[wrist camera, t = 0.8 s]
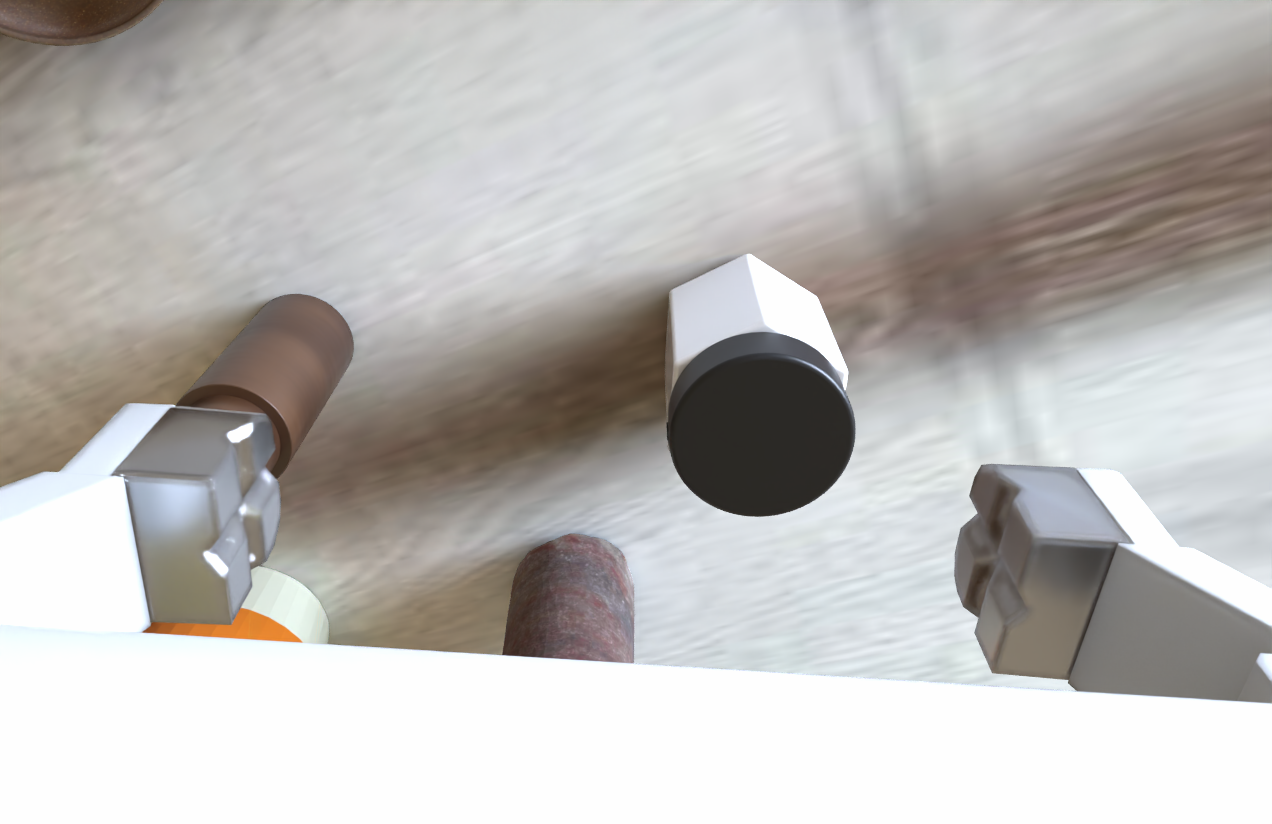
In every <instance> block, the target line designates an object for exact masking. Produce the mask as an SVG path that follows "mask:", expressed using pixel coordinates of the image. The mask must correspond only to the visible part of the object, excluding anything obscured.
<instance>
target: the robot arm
mask: <svg viewBox="0 0 1272 824" xmlns="http://www.w3.org/2000/svg"><path fill="white" fill-rule="evenodd" d="M274 451H275V441H274V434H273V427H272V423H271V421H270V419H269V418H268V416H267V415H266V414H264V413H252V412H241V411H230V410H218V409H207V408H195V407H184V406H178V407H177V406H175V405H167V404H144V403H131V404H125V405H124V406H123V407H122V408H121V409H120V410H119V411H118V412H117V413H116V414H115V415H114V416H113V417H112V418H111V419H110V420H109V421H108V422H107V423H106V424H105V425H104V426H103V427H102V428H101V429H100V430H99V431H98V432H97V433H96V434H95V435H94V436H93V438H92V439H91V440H90V441H89V442H88V443H87V444H86V445H85V446H84V447H83V448H82V449H81V450H80V451H79V452H78V453H77V454H76V455H75V456H74V457H73V458H72V459H71V460H70V461H69V462H68V463H67V464H66V465H65V466H64V467H63V468H62V469H61V470H60V471H59V472H41V473H38V474H36V475H33V476H30V477H27V478H25V479H22V480H19V481H17V482H14V483H11V484H8V485H6V486H3V487H0V824H1272V589H1270V588H1268V587H1266V586H1264V585H1262V584H1260V583H1259V582H1257V581H1255V580H1253V579H1251V578H1249V577H1247V576H1245V575H1243V574H1241V573H1239V572H1237V571H1236V570H1234V569H1232V568H1230V567H1228V566H1226V565H1224V564H1222V563H1220V562H1218V561H1216V560H1214V559H1213V558H1211V557H1209V556H1207V555H1205V554H1203V553H1201V552H1199V551H1197V550H1195V549H1193V548H1182V547H1179V546H1178V545H1177V544H1176V543H1175V541H1174V540H1173V539H1172V537H1171V536H1170V535H1169V534H1168V532H1167V531H1166V530H1165V529H1164V527H1163V526H1162V525H1161V524H1160V522H1159V521H1158V520H1157V519H1156V517H1155V516H1154V515H1153V513H1152V512H1151V511H1150V510H1149V508H1148V507H1147V506H1146V505H1145V503H1144V502H1143V501H1142V500H1141V498H1140V497H1139V496H1138V495H1137V493H1136V492H1135V491H1134V489H1133V488H1132V487H1131V486H1130V484H1129V483H1128V482H1127V481H1126V479H1125V478H1124V477H1123V476H1122V474H1121V473H1119V472H1116V471H1114V470H1112V469H1085V468H1070V467H1048V466H1025V465H1003V464H986V465H981V467H980V469H979V470H978V472H977V474H976V476H975V478H974V481H973V485H972V488H971V492H970V495H969V496H970V498H971V500H972V502H973V504H974V506H975V508H976V510H977V512H978V514H976V515H975V516H974V517H973V518H972V519H971V520H970V521H968V522H967V523H966V524H965V525H964V526H963V527H962V528H961V529H960V533H959V537H958V542H957V546H956V550H955V570H954V576H955V582H956V587H957V592H958V595H959V597H960V600H961V602H962V605H963V607H964V608H966V609H967V610H968V611H970V612H971V613H973V614H974V615H975V616H977V617H978V622H977V626H976V629H975V635H976V637H977V640H978V642H979V644H980V646H981V649H982V651H983V653H984V656H985V658H986V660H987V662H988V665H989V667H990V669H991V671H992V673H997V674H1008V675H1019V676H1030V677H1042V678H1053V679H1064V680H1069V681H1068V684H1070V685H1071V686H1072V687H1073V688H1074V689H1075V690H1076V691H1066V690H1050V689H1034V688H1018V687H1002V686H986V685H970V684H954V683H938V682H922V681H906V680H890V679H874V678H858V677H842V676H826V675H809V674H793V673H777V672H761V671H745V670H729V669H713V668H697V667H682V666H666V665H650V664H634V663H618V662H602V661H586V660H570V659H554V658H538V657H522V656H506V655H490V654H474V653H458V652H442V651H427V650H411V649H395V648H379V647H363V646H347V645H331V644H315V643H299V642H283V641H267V640H251V639H235V638H219V637H203V636H187V635H171V634H155V633H141V632H143V631H144V630H146V629H147V628H149V627H150V626H151V622H162V623H189V624H217V625H232V623H233V621H234V619H235V617H236V615H237V614H238V612H239V610H240V608H241V606H242V605H243V603H244V601H245V599H246V597H247V596H248V594H249V592H250V590H251V588H252V587H253V586H252V577H251V570H252V569H254V568H255V567H257V566H259V565H261V564H263V563H264V562H266V561H267V559H268V557H269V555H270V553H271V551H272V549H273V547H274V545H275V541H276V536H277V532H278V528H279V524H280V509H281V498H280V487H279V482H278V481H277V480H276V479H275V477H274V476H273V475H272V474H271V473H270V472H269V471H268V469H267V468H266V467H265V465H266V464H267V462H268V460H269V459H270V457H271V455H272V454H273V452H274Z"/></svg>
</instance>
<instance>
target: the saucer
mask: <svg viewBox="0 0 1272 824" xmlns="http://www.w3.org/2000/svg"><path fill="white" fill-rule="evenodd" d="M162 2H163V0H0V33H1V34H3V35H6V36H9V37H12V38H16V39H19V40H23V41H27V42H32V43H38V44H44V45H55V46H69V45H82V44H88V43H94V42H98V41H101V40H104V39H107V38H111V37H114V36H115V35H117V34H120V33H122V32H124V31H126V30H128V29H130V28H131V27H133V26H135V25H136V24H138V23H139V22H141V21H142V20H143V19H144V18H146V17H147V16H148V15H150V14H151V13H152V12H153V11H154V10H155V9H156V8H157V7H158V6H159V5H160V4H161V3H162Z"/></svg>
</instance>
